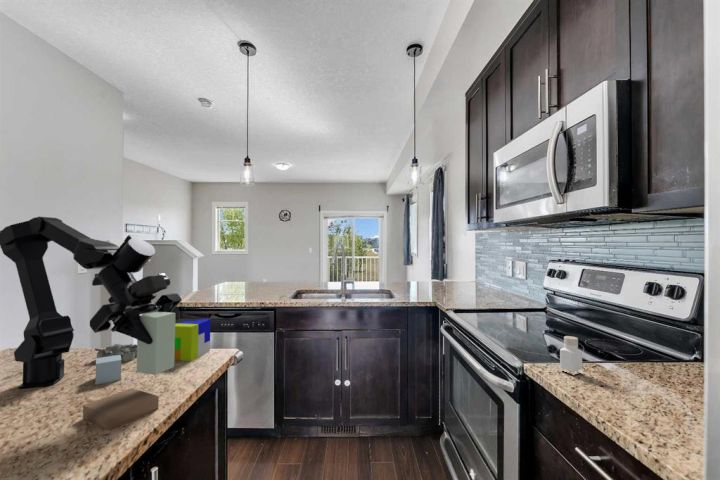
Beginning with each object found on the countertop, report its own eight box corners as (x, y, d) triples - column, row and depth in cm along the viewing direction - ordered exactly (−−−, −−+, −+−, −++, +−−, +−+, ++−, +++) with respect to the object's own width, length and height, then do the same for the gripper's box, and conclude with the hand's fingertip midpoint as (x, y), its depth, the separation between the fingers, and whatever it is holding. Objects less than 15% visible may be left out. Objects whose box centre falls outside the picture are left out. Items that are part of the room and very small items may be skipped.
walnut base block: (82, 421, 65) (83, 405, 65) (131, 402, 73) (131, 388, 73) (110, 432, 61) (110, 415, 61) (158, 410, 69) (158, 396, 69)
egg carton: (91, 363, 96) (91, 348, 96) (110, 354, 104) (110, 341, 104) (129, 362, 96) (129, 348, 97) (145, 354, 104) (145, 341, 104)
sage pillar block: (136, 372, 72) (137, 315, 72) (156, 364, 77) (157, 311, 77) (155, 374, 71) (156, 317, 71) (174, 366, 75) (175, 312, 76)
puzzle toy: (209, 350, 108) (210, 319, 108) (191, 361, 98) (191, 326, 98) (180, 349, 109) (181, 318, 109) (159, 359, 99) (159, 325, 99)
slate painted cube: (95, 384, 81) (95, 363, 81) (95, 378, 85) (96, 358, 85) (120, 380, 84) (121, 359, 84) (119, 374, 88) (120, 354, 88)
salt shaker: (573, 376, 88) (573, 340, 89) (559, 371, 92) (559, 336, 92) (583, 374, 90) (583, 338, 90) (568, 369, 94) (568, 335, 94)
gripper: (102, 264, 66) (146, 324, 63) (176, 260, 84) (213, 307, 81) (71, 302, 68) (112, 362, 65) (150, 290, 86) (185, 337, 83)
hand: (161, 339), depth 73 cm, fingers closed on sage pillar block, 5 cm apart
